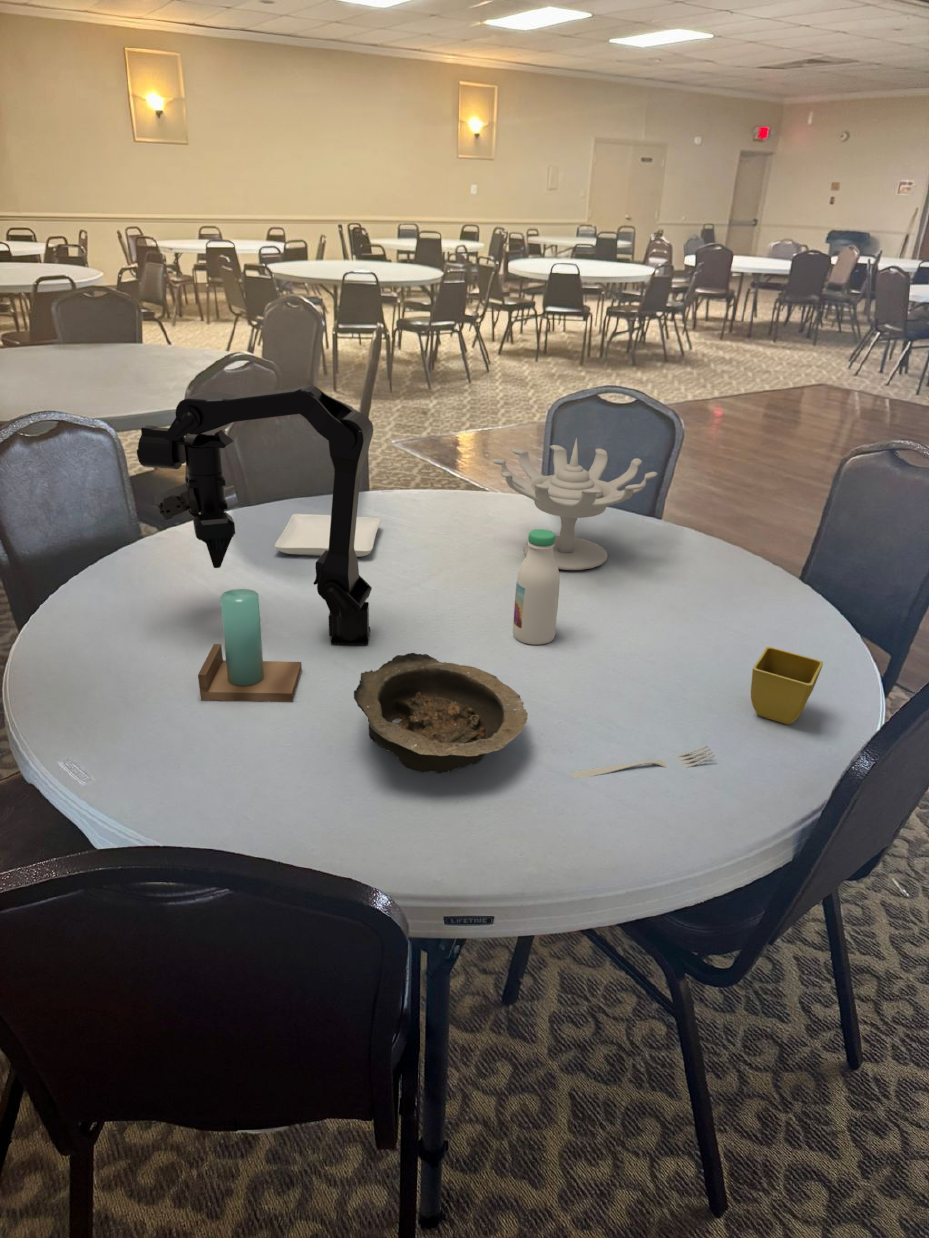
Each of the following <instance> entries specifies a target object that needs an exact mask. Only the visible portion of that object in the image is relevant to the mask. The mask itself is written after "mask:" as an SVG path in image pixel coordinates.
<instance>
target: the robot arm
mask: <svg viewBox="0 0 929 1238" xmlns="http://www.w3.org/2000/svg"><path fill="white" fill-rule="evenodd" d="M291 415H293V416H294V415H295V416H296V415H301V416H302V417H303V418H305V419H306V421H307V422H308V423H309V424H310V426H311V427H312V428H313V429H314V430H315V431H316V432H317V433H318V434H319V435H320V436H322V437H323V438H324V439H326V440H327V441H328V450H329V457H330V460H331V463H332V467H333V473H334V474H333V477H334V478H333V488H332V499H331V501H332V502H331V512H330V513H331V514H330V515H331V524H330V537H329V550H328V551H327V550H325V551H324V553H323V554H322V555H321V556H319V558H318V559H317V560H316V561H315V568H314V569H315V579H314V581H313V585H314V586H315V585H316V590H317V593H318V595H319V596H320V597H321V598H322V599H323V600H324V601H325V603H326V607H327V608H328V611H329V614H328V636H329V637H330V638H331V640H330V645H339V646H340V645H342V646H344V645H345V646H347V645H349V646H351V645H352V646H367V645H368V644H369V640H370V634H371V627H370V603H369V602H368V601H367V600H368V598H369V597H370V594H371V592H372V589H373V588H372V586H371V585H370V584H369V583H368V582H367V581H366V580H365V579H364V578H363V577H362V576H361V575H360V570H359V561H358V560H359V559H358V557H357V556H356V553H355V550H354V541H355V530H356V519H357V517H358V506H359V495H360V485H361V475H362V469H363V465H364V463H365V460H366V459H367V455H368V453H369V449H370V447H371V446H370V445H371V442H372V438H373V435H374V424H373V422H372V421H371V420H370V418H369V417H368V416H367V415H365V414H364V412H360V411H354V410H353V409H352V408H350V407H349V406H348V405H346V404H345V403H343V402H341V401H340V400H337V399H335V398H334V397H332V396H329V395H328V394H327V393H325V392H324V391H322V390H321V389H320V388H319V387H317V386H316V385H313V384H305V385H303V386H300V387H293V388H292V387H291V388H285V389H279V390H278V389H277V390H268V391H261V392H254V393H245V394H238V395H237V394H229V393H226V392H225V393H224V392H216V391H200V392H197V393H195V394H193V395H190V396H189V397H187V398H184V399H181V400H180V401H179V402H178V403H177V405H176V407H175V418H174V420H173V421H172V423H171V424H170V426H169V427H158V426H155V425H145V426H143V427H141V428H140V432H141V435H140V437H139V439H138V445H137V449H136V456H137V459H138V462H139V465H141V466H142V467H144V468H154V469H155V468H156V469H167V470H178V469H180V468H181V467H182V466H183V464H186V472H187V474H186V476H184V479H185V483H183V484H181V485H178V486H175V487H173V488H172V487H171V488H170V489H168V490H166V491H162V492H161V493H158V494H156V495H155V496H154V497H153V498H154V499H153V500H154V503H155V506H156V508H157V510H158V512H159V514H160V515H161V517H162V519H163V520H164V521H168V520H171V519H172V518H173V517H174V516H178V515H180V514H182V513H184V512H186V511H188V513H189V514H190V515H191V516H192V517H193V519H192V521H193V522H192V523H193V529H194V534H195V538H196V539H198V540H199V541H202V542H203V543H205V544H206V548H207V551H208V554H209V557H210V560H211V563H212V567H213V568H214V569H220V568H221V567H222V564H223V561H224V560H225V556H226V554H227V551H228V549H229V546H230V544H231V542H232V539H233V538H234V537H235V535H236V524H235V521H234V518H233V516H231V515H230V514H229V513H228V512H227V511H225V510H228V508H229V507H228V502H227V499H226V489H225V486H226V478H225V477H224V470H223V469H224V467H223V457H222V449H225V448H227V447H229V446H231V445H232V444H233V443H234V440H233V438H232V437H230V436H229V435H227V434H226V433H225V432H224V430H222V429H220V430H218V431H216V432H215V433H213V434H211V433H207V432H211V431H213V430H216V429H219V428H221V427H224V426H227V425H229V424H232V423H237V422H244V421H245V422H246V421H251V420H259V419H269V418H277V417H285V416H291ZM188 435H195V437H190V436H189V437H186V436H188Z"/></svg>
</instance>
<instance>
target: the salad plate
mask: <svg viewBox="0 0 929 1238" xmlns="http://www.w3.org/2000/svg"><path fill="white" fill-rule="evenodd" d="M287 522H288V523H287V524H286V526H285V528H284V530H283V531H282V533H281V534H280V535H279V537H278V538H277V540H276V542H275V544H274V548H275V549H276V550H277V551H279V552H281V553H283V554H288V555H298V556H317V557H321V555H322V554H323V553H324V551H325V550H327V551H328V550H329V537H330V524H331V514H312V513H311V514H309V513H307V514H305V513H294V514H292V515H291V517H290V518H289V520H288V521H287ZM381 523H382V520H381V518H380V517H369V516H357V519H356V530H355V541H354V550H355V553H356V556H357V558H358V557H365V556H367V555H370V554H371V552H372V551H373V549H374V545H375V540H376V535H377V532H378V530H379V527H380V525H381Z"/></svg>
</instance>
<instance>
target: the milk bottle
mask: <svg viewBox="0 0 929 1238" xmlns="http://www.w3.org/2000/svg"><path fill="white" fill-rule="evenodd" d="M555 536H556V534H555V532H553V531H551V530H549V529H548V530H547V529H538V528H537V529H533V530H531V531H529V532H528V542H527V543H528V545H529V550H528V553H527V555H525V557H524V560H522V563H521V564H520V567H519V569H518V571H517V576H516V583H515V597H514V607H513V608H514V609H513V624H512V634H513V637H514V638H515V639H516V640H517V641H519V642H521V643H523V644H527V645H534V646H535V645H536V646H537V645H539V646H540V645H546V644H548V643H551V642H552V641H553V640H554V638H555V636H556V628H557V627H556V626H557V617H558V609H559V607H558V606H559V597H560V584H561V583H560V582H561V581H560V579H561V578H560V571H559V570H560V569H558V567H557V564H556V562H555V559H554V555H553V547H554V546H555V545H554V543H555Z"/></svg>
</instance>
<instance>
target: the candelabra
mask: <svg viewBox="0 0 929 1238" xmlns="http://www.w3.org/2000/svg"><path fill="white" fill-rule="evenodd" d="M549 448H550V449H551V450H552V451H553V457H552V458H553V459H552V461H553V474H550V475H543V473H541V472H539V471H538V470H537V469H536V468H535V466H534V465H533V464H532V463H531V460H530V458H529V456H530V455H529V451H528V450H525V449H521V448H512V449H511V450H510V451H511V452H512V453H513V454H514V455H517V456H518V462H519V465H520V468H521V469H522V470H523V472H524V473H525V474H526V476H527V477H528V478H529V480H526V479H523V478H521V477H519V476H518V475H516V474H514V473H513V472H512V471H510V470H509V468H508V466H507V465H506V463H507V462H506V461H507V460H506V459H503V458H495V459H492V463H493V464H495V465H499V466H501V473H500V475H501V477H503V478H505V481H506V484H507V486H508V487H509V488H510V489H512V490H513V491H514V492H517V493H518V494H521V495H523V496H525V497H527V498H528V499H531V500H532V501H533V503H534V506H535V507H536V508H537V509H538V510H539V511H541V512H544V513H546V514H549V515H552V516H556V517H559V518H560V524H561V527H560V531H559V535H555V543H554V545H555V546H554V547H553V555H554V559H555V562H556V564H557V567H558V570H565V571H580V570H581V571H582V570H587V569H593V568H595V567H600V566H601V565H603V564H604V563H605V562H606V561H607V559H608V557H609V556H608V553H607V551H606V549H605V548H603V547H602V546H601V545H600V544H598V543H595V542H593V541H590V540H588V539H585V538H581V537H576V536H575V534H576V533H575V525H576V523H577V520H578V519H579V518H580V519H583V518H591V517H596V516H599V515H601V514H603V513H604V512H605V510H606V508H607V507H609V506H612V505H616V504H620V503H622V502H625V501H628V499H631V497H632V496H633V495H635V494H636V493H640V492H642V491H643V489H644V488H645V486H646V485H647V481H648V480H651V479H653V478H655V477H657V475H658V472H656V471H649V472H647V473H645V474H644V478H643V480H642V481H641V482H640V483H636V484H629V485H626V484H627V483H629V482H630V481H632V480H633V479H634V478H635V477H636V475H637V474H638V469H639V466H641V465H642V462H643V460H641V459H640V458H638V457H636V458H633V459H632V460H631V462H630V463H629V464H630V465H629V467H628V469H627V470H626V472H624V473H622V474H621V475H620V476H618V477H617V478H615V479H613V480H610V481H604V480H601V478H602V475H603V473H604V471H605V470H606V468H607V464H608V462H609V461H608V459H609V457H608V452H607V451H606V449H603V448H595V450H594V451H595V456H594V459H593V462H592V464H591V466H590V468H589V470H586V469H585V468H584V467H583V466H582V465H580V464H579V456H578V455H579V454H578V452H579V451H578V439H577V437H576V438H575V441H574V446H573V449H572V454H571V457H570V461H569V462H568V450H566V448H564V447H563V446H561V445H557V444H553V445H549ZM625 485H626V486H625ZM623 486H625V488H624V489H622V490H621V489H620V488H622V487H623ZM528 550H529V545H528V542H527V543H526V544H525V546H524V547H523V552H524V555H525V556H526V555H527V553H528Z"/></svg>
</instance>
